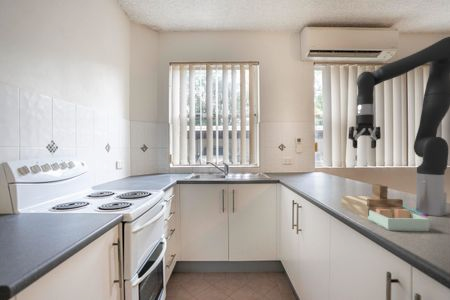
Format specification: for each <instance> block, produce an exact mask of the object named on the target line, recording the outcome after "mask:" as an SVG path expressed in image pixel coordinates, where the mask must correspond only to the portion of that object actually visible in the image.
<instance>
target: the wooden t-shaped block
mask: <svg viewBox="0 0 450 300" xmlns="http://www.w3.org/2000/svg"><path fill="white" fill-rule="evenodd" d="M371 186H372V190H371V191H372V195H371V197H372V199H367V206H368V207H397V208H403V206H404V205H403V203H404V202H403V201H404V199H401V198H388V193H389V191H388V187H389V186H388V185H383V184H380V183H379V184H372V185H371Z"/></svg>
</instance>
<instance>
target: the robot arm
mask: <svg viewBox="0 0 450 300" xmlns="http://www.w3.org/2000/svg"><path fill="white" fill-rule="evenodd" d="M425 64H429V69H428V70H429V72H428V77H427V81H426V86H425V91H424V94H423V100H422V109H421V114H420V121H419V125H418V129H417V133H416V136H415V139H414V144H413V152H414V154H415V155H416V156H417V157H419V158H422V161H421V164H420V165H418V166H417V167H416V194H415V196H416V197H415V199H416V200H415V202H416V203H415V205H416V206H415V211H417V212H419V213H423V214H425V215H428V216H433V217H434V216H435V217H442V216H446V215H447V195H448V194H447V192H445V174H446V172H445V171H446V169H447V167H448V162H449V145H448V142H447V140H446V139H445V138H443V137H440V136H437V133H438V129H439V126H440V124H441V123H442V121H443V119H444V118H445V116H446V115H447V113H448V111H449V109H450V36H447V37H443V38H442V39H440V40H438V41H436V42H435V43H433V44H431V45H429V46H427V47H425V48H423V49H420V50H419V51H417V52H415V53H412V54H410V55H407V56H406V57H402V58H400V59H397V60H395V61H392V62H390V63H387V64H384V65H382V66H380V67H378V68H377V69H376V70H373V71H368V70H367V71H366V70H365V71H362V72H361V73H359V75H358V76H357V79H356V85H357V95H356V109H355V126H349V128H348V140H351V141H352V147H353V149H358V139H359V138H360V137H361V136H362V137H363V136H365V137H366V136H367V137H369V138H370V145H371V146H370V149H376V148H377V140H381V138H382V136H381V135H382V134H381V133H382V132H381V126H374V122H375V108H374V88H375V86H378V85H379V84H382V83H384V82H386V81H390V80H393V79H394V78H397V77H400V76H402V75H404V74H407V73H410V71H413V70H414V69H416V68H419V67H421V66H424V65H425ZM373 131H374V132H373Z"/></svg>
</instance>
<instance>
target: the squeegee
mask: <svg viewBox="0 0 450 300" xmlns="http://www.w3.org/2000/svg"><path fill="white" fill-rule="evenodd" d="M403 207H404V209H407V210H410V212H414V213H416V214H417V215H418V214H419V216H422V217H429V215H426V214H423V213H419V212H417V211H416V209H412V208H410V207H408V206H405V205H403Z"/></svg>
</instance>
